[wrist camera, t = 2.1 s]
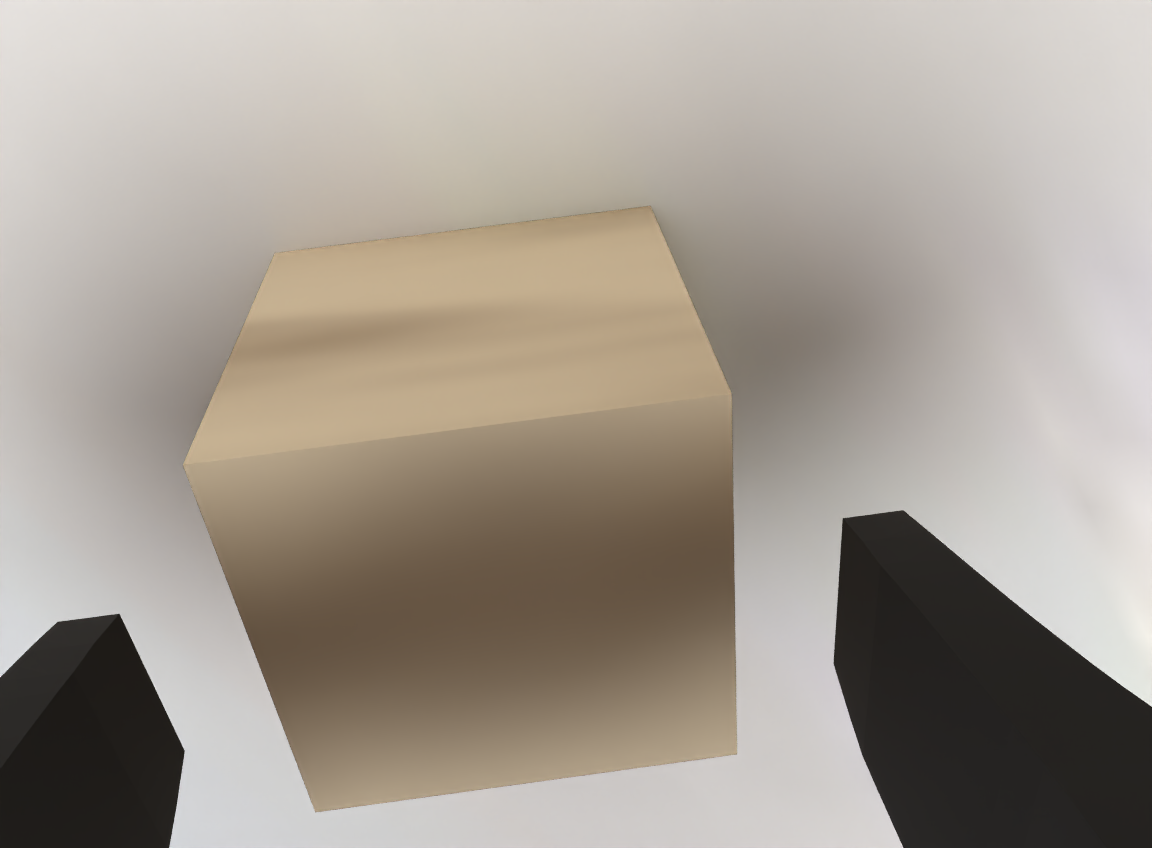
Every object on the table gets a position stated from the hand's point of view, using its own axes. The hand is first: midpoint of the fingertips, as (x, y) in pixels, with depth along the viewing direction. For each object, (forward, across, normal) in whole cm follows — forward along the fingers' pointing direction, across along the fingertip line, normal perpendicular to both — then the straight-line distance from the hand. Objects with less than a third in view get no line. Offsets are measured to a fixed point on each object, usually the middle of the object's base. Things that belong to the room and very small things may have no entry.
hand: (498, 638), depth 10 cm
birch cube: (+5, 0, 0) cm, 5 cm away
